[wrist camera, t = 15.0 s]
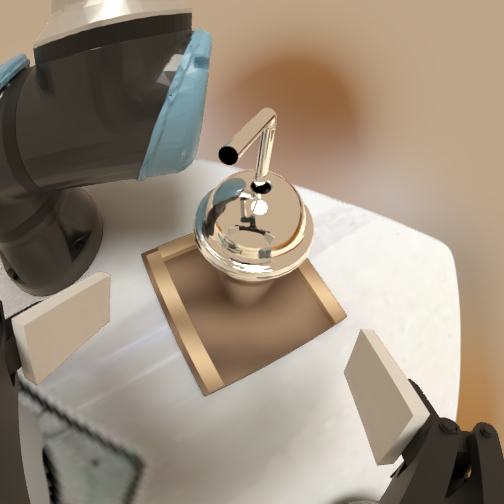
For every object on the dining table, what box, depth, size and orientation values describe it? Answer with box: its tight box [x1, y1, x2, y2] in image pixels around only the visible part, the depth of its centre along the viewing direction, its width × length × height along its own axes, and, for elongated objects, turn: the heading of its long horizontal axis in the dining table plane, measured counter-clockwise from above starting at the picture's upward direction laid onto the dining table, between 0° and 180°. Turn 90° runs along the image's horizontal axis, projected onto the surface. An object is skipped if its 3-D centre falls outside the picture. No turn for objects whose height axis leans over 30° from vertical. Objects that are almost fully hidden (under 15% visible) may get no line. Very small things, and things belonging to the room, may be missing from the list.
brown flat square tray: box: [141, 233, 347, 396], centre depth 28 cm, size 16×16×2 cm
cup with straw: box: [193, 108, 314, 307], centre depth 20 cm, size 8×9×20 cm
